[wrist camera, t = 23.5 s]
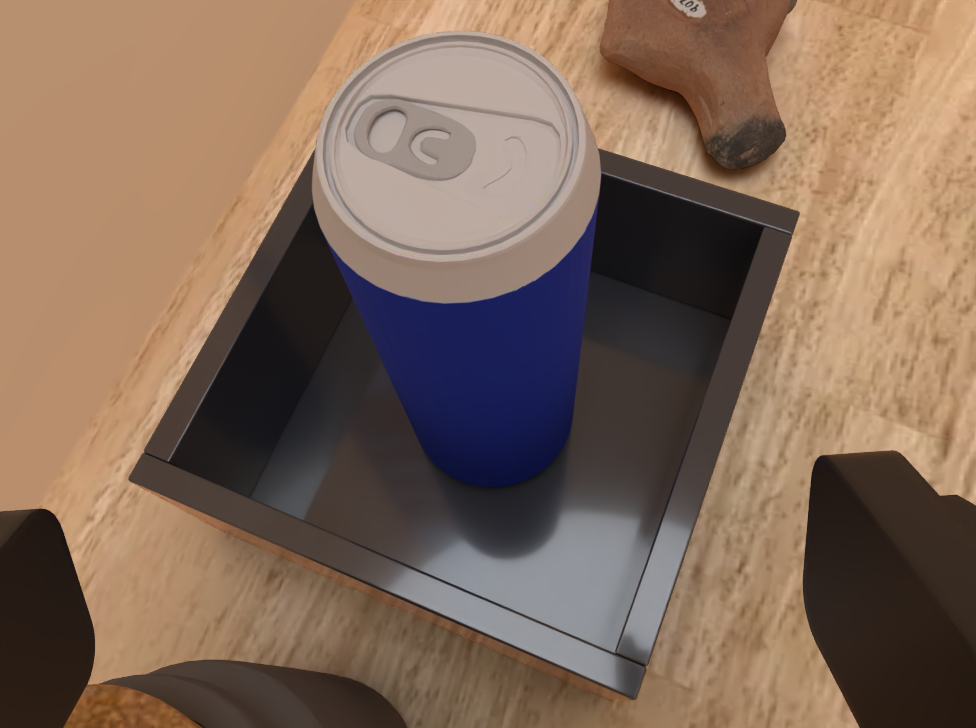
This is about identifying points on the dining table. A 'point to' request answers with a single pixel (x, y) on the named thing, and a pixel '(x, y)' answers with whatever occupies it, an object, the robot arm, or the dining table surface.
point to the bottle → (232, 699)
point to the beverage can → (466, 241)
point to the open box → (475, 509)
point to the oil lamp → (707, 65)
